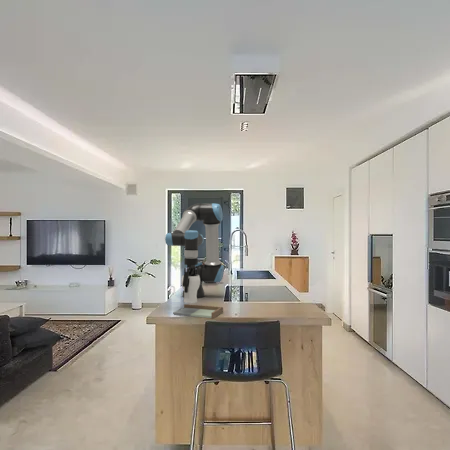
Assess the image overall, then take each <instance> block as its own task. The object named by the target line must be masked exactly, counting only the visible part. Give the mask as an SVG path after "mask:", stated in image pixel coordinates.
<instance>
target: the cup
mask: <svg viewBox="0 0 450 450" xmlns="http://www.w3.org/2000/svg"><path fill="white" fill-rule="evenodd" d="M183 278H184V274H183V275H181V287H182V289H183V290H184V287H183ZM189 278H190V279H189ZM188 279H189V286H188V287H189V299H187V298H184V297H183V303H184V304H194V303H198V298H197V290H198V288H199V286H200V277H199V275H196V276H189V277H188Z"/></svg>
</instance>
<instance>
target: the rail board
mask: <svg viewBox="0 0 450 450" xmlns="http://www.w3.org/2000/svg"><path fill="white" fill-rule="evenodd" d="M222 312H223V313H224V307H223V306H214V305H213V306H211V305H202V304H201V305H198V304H191V303H184V304H183V307H182V308H180V309H178V310H176V311H173V313H172V315H173V314H174V316H181V315H184V316H183V317H194V318H195V317H196V318H207V319H215V318H217V317H218V316H220V315H221V314H223V313H222ZM219 314H220V315H219Z"/></svg>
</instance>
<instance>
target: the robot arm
mask: <svg viewBox="0 0 450 450" xmlns="http://www.w3.org/2000/svg"><path fill="white" fill-rule="evenodd" d="M223 217H224V214H223V209H222V206H221V204H220V203H210V202H209V203H205V202H204V203H195V204H192V205H190V206H189V207H187V208H186V209H184V211H183V213H182V216H181V219H180V220H179V222H178V224H177V225H176V227H175V229H174V230H173V231H172V232H167V233H166V235H165V238H164V239H165V240H164V241H165V245H166V246H172V247H178V246H179V247H184V252H183V253H184V259H183V260H184V262H183V263H184V265H185V267H184V271H183V275H184V278H183V287H184V289H183V291H182V297H183V299H184V298H187V299H189V287H188V286H189V279H190V278H189V279H188V277H189V276H196V275H199V277H200V286H199V288H198V290H197V299H199V298H204V297H205V290H204V287H203V282H205V283H207V282H208V283H221V282H222V280H223V278H224V274H225V273H224V272H225V265H223V264H222V261H221V260H220V246H219V245H220V244H219V242H220V241H219V239H220V238H219V226H220V225H221V222H222V221H223V219H224V218H223ZM197 221H198V222H202V224H203V225H204V227H205V238H204V235H203V234H202V233H199V231H198V230H191V229H190V228H191V226H192V225H193V224H194V223H195V222H197ZM204 242H205V249H206V251H205V254H206V256H205V258H206V260H205V261H204V264H203V262H202V261H200V262H198V261H199V259H198V257H199V247H200V246H202V245H203V243H204ZM183 287H182V288H183Z"/></svg>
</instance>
